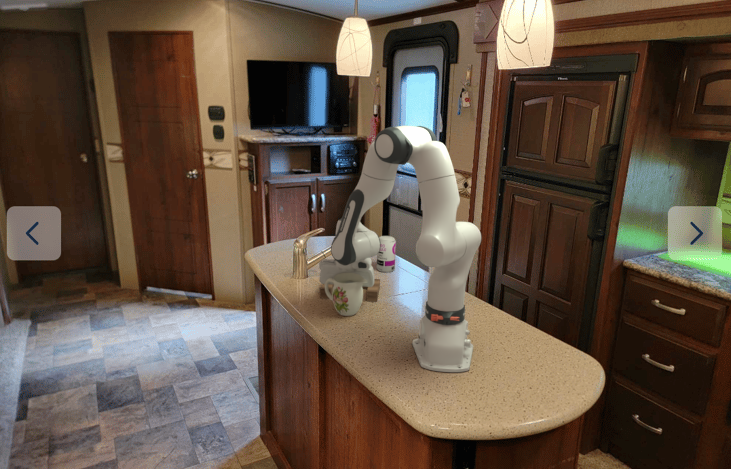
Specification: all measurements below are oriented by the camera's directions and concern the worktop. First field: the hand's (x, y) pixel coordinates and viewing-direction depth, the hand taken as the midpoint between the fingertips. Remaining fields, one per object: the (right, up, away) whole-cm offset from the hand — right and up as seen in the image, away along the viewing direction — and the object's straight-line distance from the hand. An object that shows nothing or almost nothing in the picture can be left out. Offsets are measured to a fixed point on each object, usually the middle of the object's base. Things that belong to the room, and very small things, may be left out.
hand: (346, 295), depth 180 cm
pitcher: (0, -5, -5) cm, 7 cm away
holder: (+1, -1, +12) cm, 13 cm away
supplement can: (+16, +6, +40) cm, 44 cm away
